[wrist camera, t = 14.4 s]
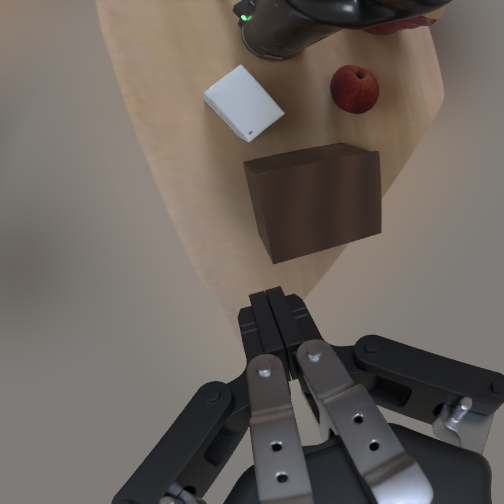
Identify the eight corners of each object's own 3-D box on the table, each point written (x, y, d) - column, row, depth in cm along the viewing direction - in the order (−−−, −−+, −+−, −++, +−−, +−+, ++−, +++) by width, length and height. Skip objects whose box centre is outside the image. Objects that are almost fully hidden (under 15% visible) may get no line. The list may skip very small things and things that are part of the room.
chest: (341, 142, 41) (371, 151, 34) (348, 212, 48) (374, 232, 40) (243, 162, 41) (253, 173, 33) (259, 235, 47) (271, 261, 39)
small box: (266, 114, 38) (287, 114, 28) (238, 137, 39) (249, 144, 29) (232, 75, 34) (242, 62, 25) (202, 99, 35) (202, 93, 26)
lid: (376, 150, 34) (379, 151, 33) (378, 230, 40) (381, 233, 39) (253, 174, 33) (254, 175, 32) (271, 261, 39) (273, 264, 38)
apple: (362, 73, 36) (391, 70, 29) (361, 115, 40) (389, 119, 33) (323, 65, 35) (347, 57, 28) (322, 109, 38) (346, 110, 31)
